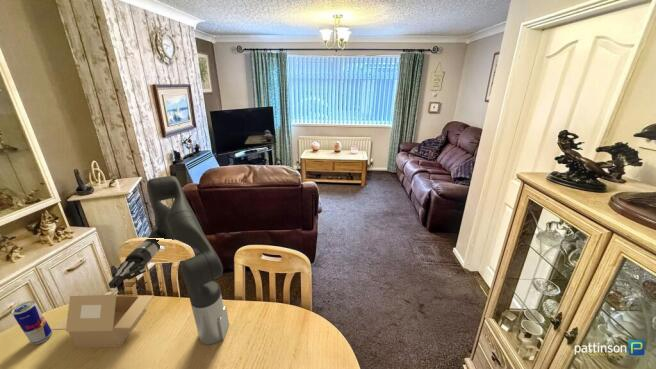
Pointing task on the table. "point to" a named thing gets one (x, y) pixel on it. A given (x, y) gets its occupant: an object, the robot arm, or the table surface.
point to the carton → (124, 323)
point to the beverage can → (32, 322)
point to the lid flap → (91, 313)
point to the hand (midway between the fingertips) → (111, 286)
